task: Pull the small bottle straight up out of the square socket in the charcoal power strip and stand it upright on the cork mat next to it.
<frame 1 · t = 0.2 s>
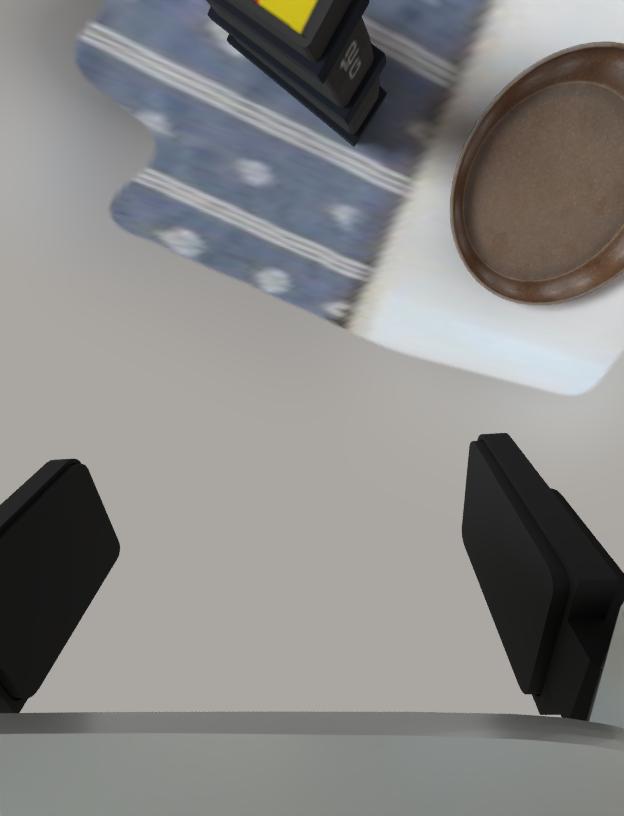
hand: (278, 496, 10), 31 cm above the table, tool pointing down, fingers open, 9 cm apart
plant saucer: (547, 191, 34), on the table
magazine: (297, 68, 31), on the table
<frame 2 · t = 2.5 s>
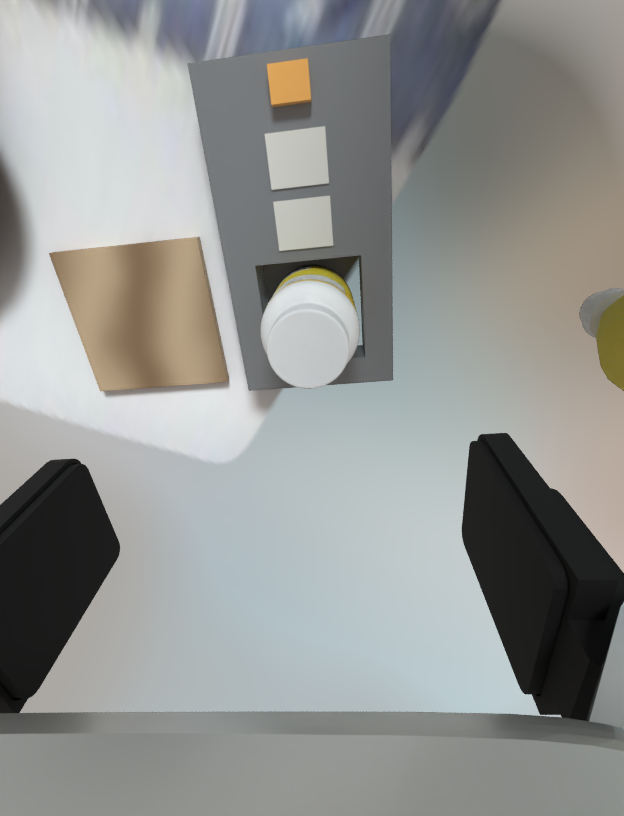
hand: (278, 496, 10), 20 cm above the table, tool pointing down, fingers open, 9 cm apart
power strip: (308, 242, 26), on the table
supplement bottle: (314, 303, 28), resting in power strip
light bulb: (596, 308, 27), on the table
cork mat: (147, 319, 29), on the table
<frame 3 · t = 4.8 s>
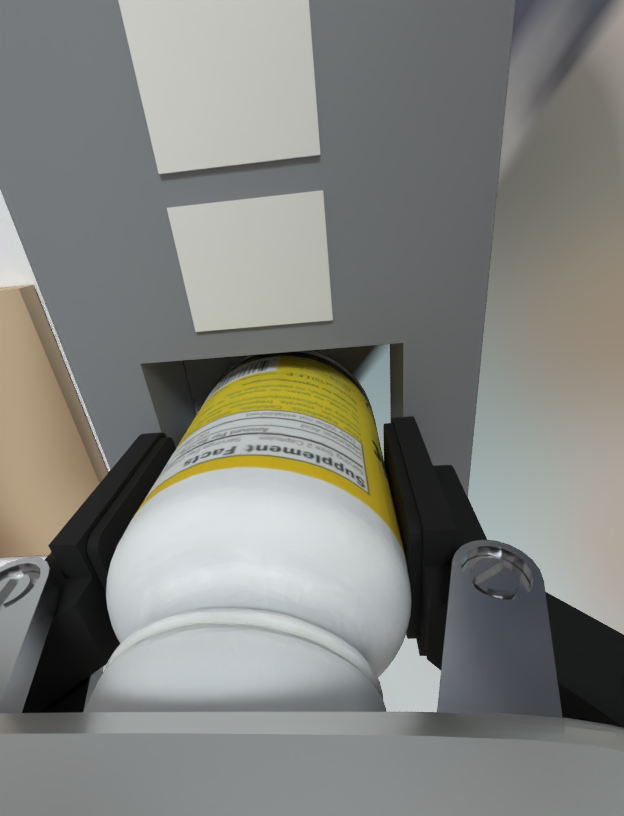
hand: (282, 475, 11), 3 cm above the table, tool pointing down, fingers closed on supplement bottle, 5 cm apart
power strip: (276, 297, 11), on the table
supplement bottle: (292, 417, 13), resting in power strip, touching gripper
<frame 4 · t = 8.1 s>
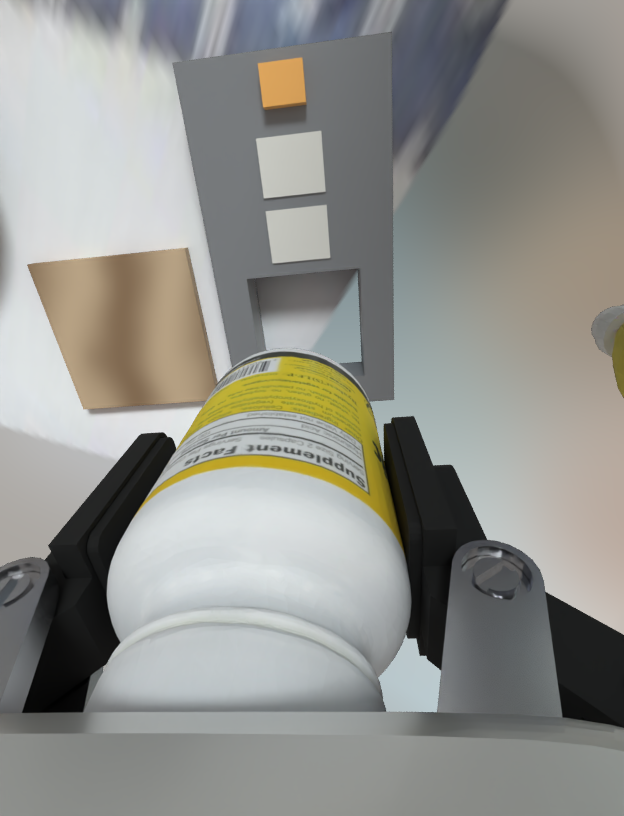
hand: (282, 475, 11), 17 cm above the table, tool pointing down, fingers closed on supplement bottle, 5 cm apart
power strip: (303, 253, 24), on the table
supplement bottle: (293, 418, 14), point 14 cm above the table, touching gripper
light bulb: (609, 324, 26), on the table
cork mat: (133, 334, 27), on the table
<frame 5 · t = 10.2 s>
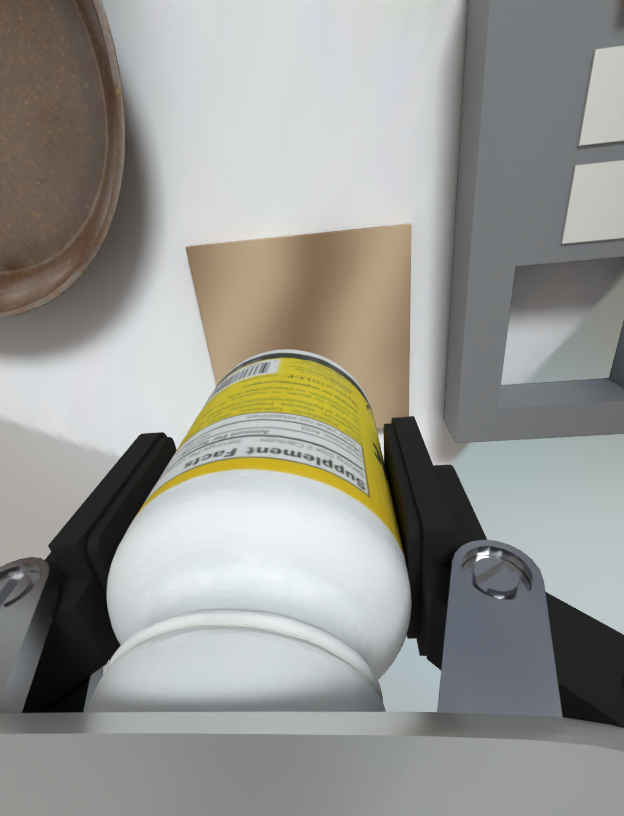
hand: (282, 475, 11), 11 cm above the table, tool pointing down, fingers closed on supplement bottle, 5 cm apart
power strip: (570, 232, 18), on the table
supplement bottle: (293, 419, 14), point 8 cm above the table, touching gripper
cork mat: (308, 341, 20), on the table
when the fingers open (5 cm above the table, at t = 11.7 s): supplement bottle drops 1 cm, resting on cork mat.
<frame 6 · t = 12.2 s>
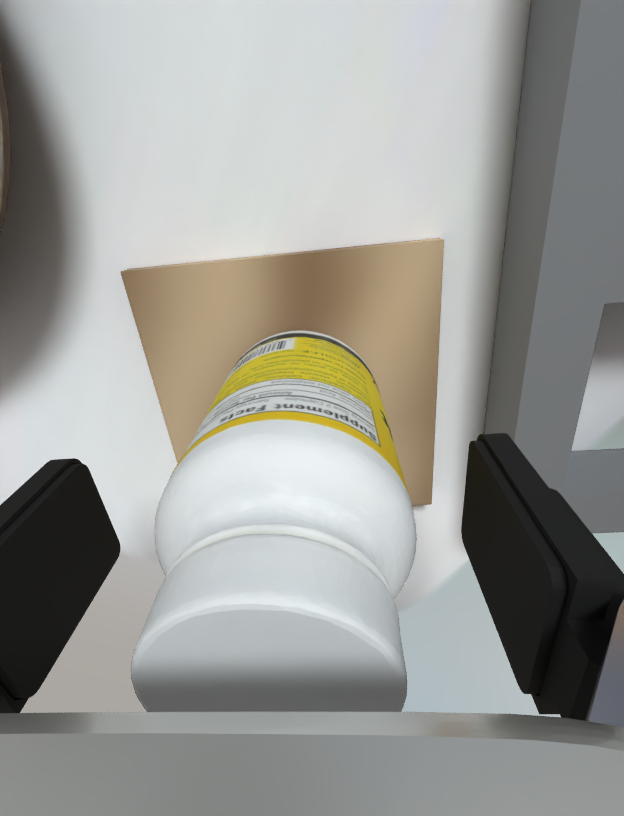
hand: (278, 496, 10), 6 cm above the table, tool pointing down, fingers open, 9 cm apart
supplement bottle: (304, 397, 15), resting on cork mat
cork mat: (296, 395, 15), on the table
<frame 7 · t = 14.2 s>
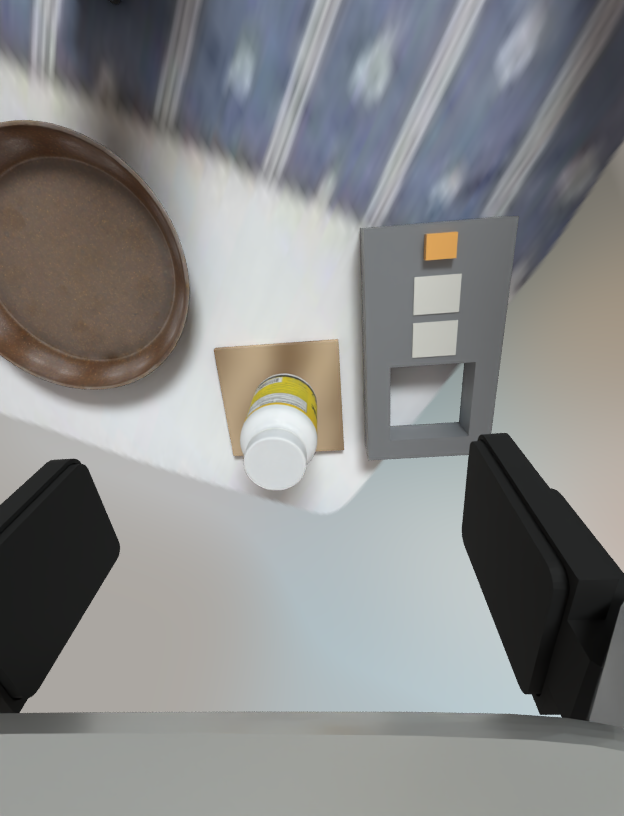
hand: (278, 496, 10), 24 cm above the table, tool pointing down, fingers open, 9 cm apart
power strip: (425, 345, 32), on the table
supplement bottle: (286, 400, 34), resting on cork mat
plant saucer: (85, 268, 31), on the table
cork mat: (283, 399, 35), on the table
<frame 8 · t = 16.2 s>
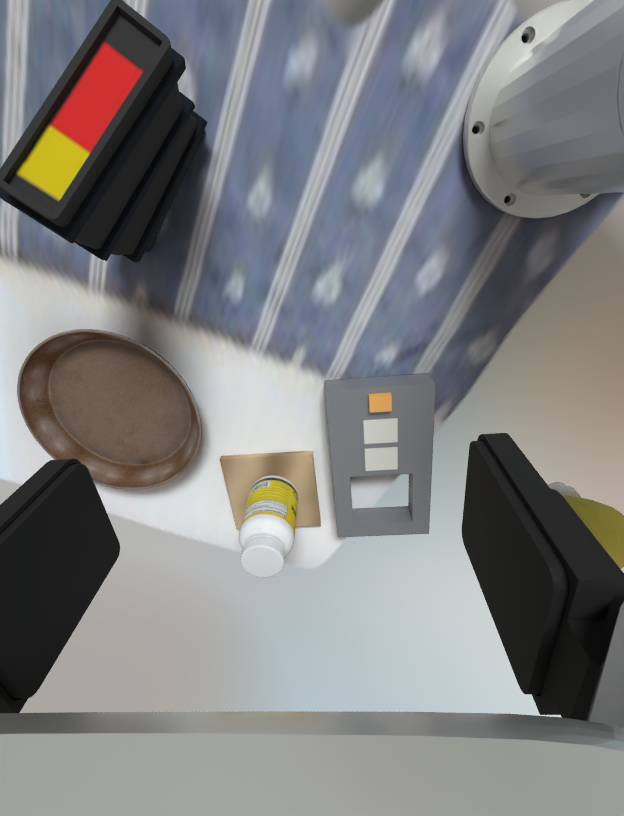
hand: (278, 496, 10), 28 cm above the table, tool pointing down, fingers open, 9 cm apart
power strip: (378, 454, 43), on the table
supplement bottle: (275, 491, 45), resting on cork mat
plant saucer: (124, 404, 42), on the table
magazine: (166, 168, 32), on the table
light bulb: (554, 489, 44), on the table
cork mat: (272, 490, 45), on the table
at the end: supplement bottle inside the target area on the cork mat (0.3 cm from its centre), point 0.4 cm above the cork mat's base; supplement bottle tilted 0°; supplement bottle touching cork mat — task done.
